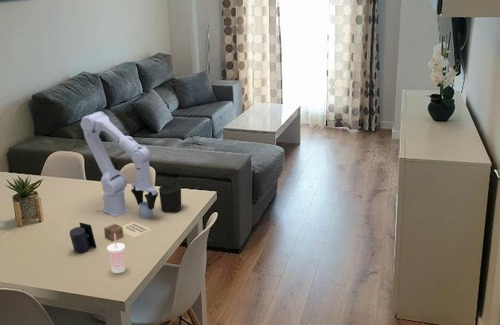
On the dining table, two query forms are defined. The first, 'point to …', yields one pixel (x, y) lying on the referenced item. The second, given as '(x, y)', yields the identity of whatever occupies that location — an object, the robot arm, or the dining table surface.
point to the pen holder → (170, 198)
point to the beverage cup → (117, 256)
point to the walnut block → (111, 230)
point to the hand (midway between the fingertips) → (145, 206)
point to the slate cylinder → (145, 211)
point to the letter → (134, 229)
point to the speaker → (82, 238)
